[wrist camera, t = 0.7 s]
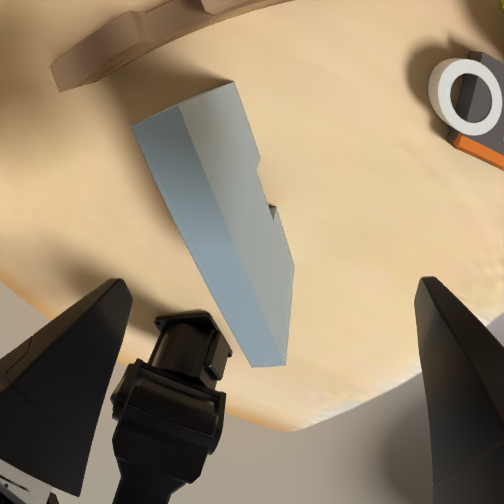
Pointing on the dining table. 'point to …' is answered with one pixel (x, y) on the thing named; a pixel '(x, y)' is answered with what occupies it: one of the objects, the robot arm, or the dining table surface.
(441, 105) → the electronic device
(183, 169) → the slotted plate
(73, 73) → the base plate
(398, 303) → the dining table surface
